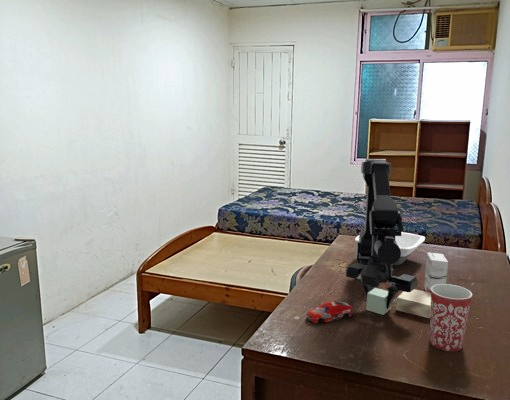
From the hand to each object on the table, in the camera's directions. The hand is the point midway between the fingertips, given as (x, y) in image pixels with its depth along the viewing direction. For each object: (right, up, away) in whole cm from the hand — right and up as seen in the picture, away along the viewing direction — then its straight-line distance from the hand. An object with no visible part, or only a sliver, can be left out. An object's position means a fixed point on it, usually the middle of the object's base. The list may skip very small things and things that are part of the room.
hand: (378, 305), depth 128 cm
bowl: (+16, +7, +44) cm, 47 cm away
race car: (-14, -2, -5) cm, 15 cm away
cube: (0, -1, 0) cm, 1 cm away
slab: (+11, -1, +1) cm, 11 cm away
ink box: (+20, +1, +12) cm, 23 cm away
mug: (+12, -5, -17) cm, 21 cm away
